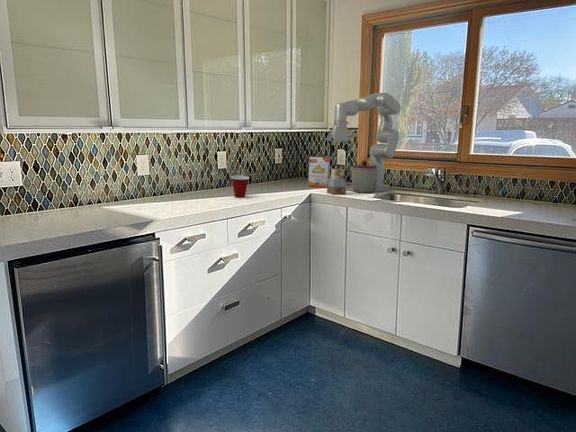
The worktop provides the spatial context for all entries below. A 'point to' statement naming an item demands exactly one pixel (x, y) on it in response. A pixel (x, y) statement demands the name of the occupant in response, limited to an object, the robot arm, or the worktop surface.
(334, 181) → the tower top
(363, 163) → the canister
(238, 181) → the plastic cup
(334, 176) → the oak cube
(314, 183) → the cracker box
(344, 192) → the tower base
